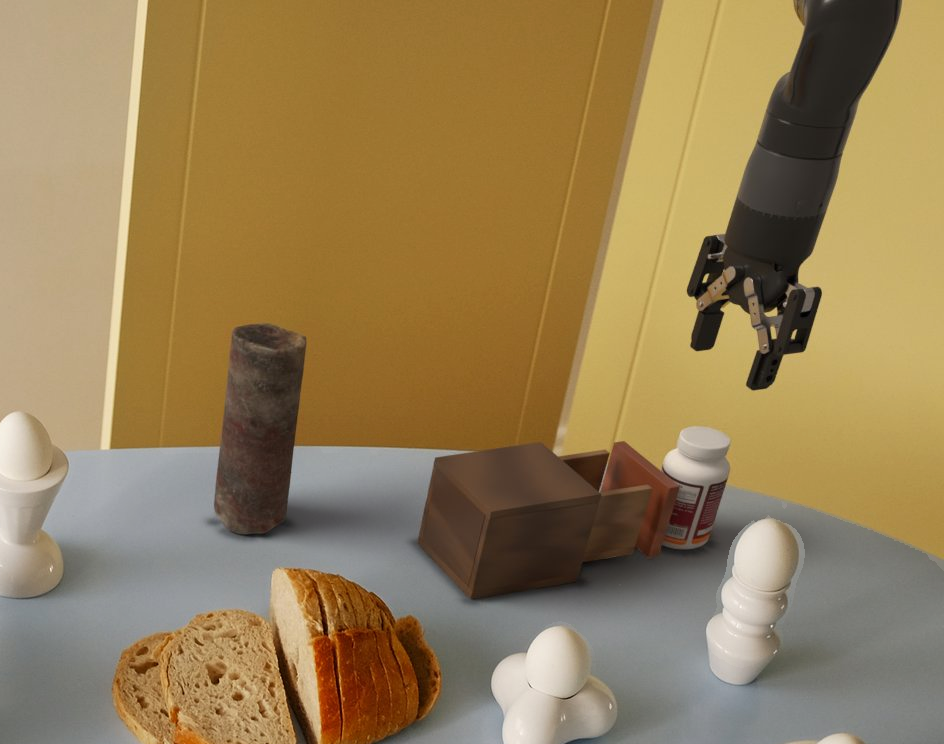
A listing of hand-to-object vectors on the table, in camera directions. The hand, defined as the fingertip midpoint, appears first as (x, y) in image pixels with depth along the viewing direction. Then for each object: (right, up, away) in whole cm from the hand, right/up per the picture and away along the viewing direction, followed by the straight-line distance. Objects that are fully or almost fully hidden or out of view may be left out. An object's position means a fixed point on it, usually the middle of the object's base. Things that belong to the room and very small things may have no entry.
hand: (728, 368), depth 165 cm
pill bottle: (0, -14, +12) cm, 19 cm away
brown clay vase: (-43, -12, +14) cm, 47 cm away
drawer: (-10, -15, +9) cm, 20 cm away
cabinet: (-19, -17, +8) cm, 27 cm away
